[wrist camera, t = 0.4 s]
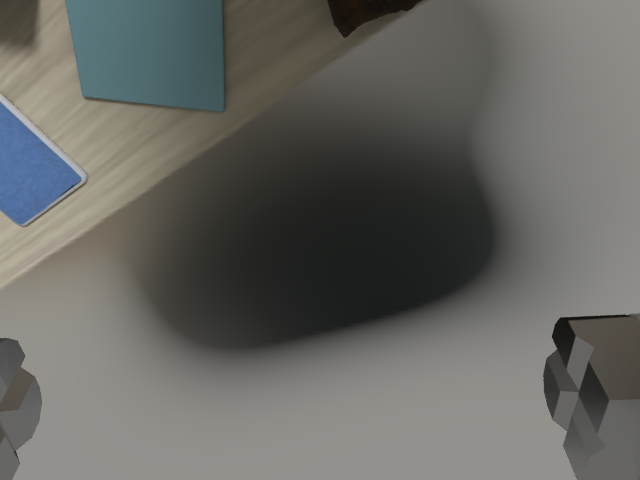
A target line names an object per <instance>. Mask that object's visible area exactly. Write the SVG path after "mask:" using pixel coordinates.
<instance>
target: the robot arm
mask: <svg viewBox="0 0 640 480" xmlns="http://www.w3.org/2000/svg"><path fill="white" fill-rule="evenodd" d="M552 338H553V341H554V343H555V345H556V348H557V350H556V351H555V352H553V353H552V354H551V355H550V356H549V357H548V358H547V359H546V364H545V369H544V374H543V377H544V393H545V398H546V402H547V406H548V409H549V411H550V414H551V416H552V419H553V421H555V422H556V423H557V424H559V425H560V426H561V427H562V428H564V429H565V430H566V431H567V434H566V438H565V441H564V445H563V447H564V449H565V451H566V454H567V456H568V459H569V461H570V464H571V466H572V468H573V471H574V473H575V476H576V478H577V480H640V314H629V315H605V316H583V317H562V318H559V320H558V321H557V322H556V324H555V327H554V330H553V334H552ZM24 358H25V354H24V352H23V351H22V349H21V347H20V345H19V343H18V341H16V340H13V339H9V338H0V480H12V479H13V477H14V474H15V472H16V470H17V468H18V466H19V464H20V462H19V459H18V456H17V453H16V450H17V449H18V448H20V447H21V446H22V445H23V444H24V443H25V442H27V441H28V440H29V439H31V438H32V436H33V434H34V432H35V429H36V427H37V425H38V422H39V419H40V412H41V405H42V399H41V392H40V387H39V385H38V383H37V380H36V378H35V377H34V376H33V375H32V374H30V373H29V372H27V371H26V370H24V369H23V368H21V367H20V366H21V364H22V362H23V360H24Z"/></svg>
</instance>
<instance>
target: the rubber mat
mask: <svg viewBox="0 0 640 480" xmlns="http://www.w3.org/2000/svg"><path fill="white" fill-rule="evenodd" d="M65 2H66V8H67V13H68V19H69V24H70V30H71V35H72V41H73V46H74V52H75V57H76V63H77V68H78V74H79V79H80V85H81V90H82V96H84V97H92V98H101V99H110V100H119V101H128V102H137V103H146V104H155V105H164V106H173V107H182V108H191V109H200V110H209V111H218V112H224V111H225V74H224V33H223V0H65Z"/></svg>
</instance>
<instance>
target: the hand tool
mask: <svg viewBox="0 0 640 480" xmlns="http://www.w3.org/2000/svg"><path fill="white" fill-rule="evenodd" d="M419 1H421V0H328V4H329V7H330V11H331V14H332V18H333V21H334V25H335V26H336V27H337V28H338V30H339V32H340V33H341V34H342V35H343V37H347V36H348V35H349V34H350V33H351V32H352V31H354V30H355V29H356V28H357V27H359V26H360V25H362V24H363V23H365V22H368V21H371V20H373V19H377V18H378V17H381V16H383V15H386V14H389V13H395V12H398V11H400V10H404V11H408V10H410V9H412V8H413V7H414V6H415V4H416V3H418V2H419Z"/></svg>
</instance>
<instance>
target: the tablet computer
mask: <svg viewBox="0 0 640 480" xmlns="http://www.w3.org/2000/svg"><path fill="white" fill-rule="evenodd" d="M87 179H88V175H87V173H86V172H85V171H84V170H83V169H82V168H81V167H80V166H79V165H78V164H76V163H75V162H74V161H73V160H72V159H71V158H70V157H69V156H67V155H66V154H65V153H64V152H63V151H62V150H61V149H60V148H59V147H58V146H56V145H55V144H54V143H53V142H52V141H51V140H50V139H49V138H48V137H47V136H46V135H45V134H44V133H42V132H41V131H40V130H39V129H38V128H37V127H36V126H35V125H34V124H33V123H32V122H31V121H30V120H28V119H27V118H26V117H25V116H24V115H23V114H22V113H21V112H20V111H19V110H18V109H17V108H16V107H15V106H14V105H13V104H11V103H10V102H9V101H8V100H7V99H6V98H5V97H4V96H3V95H2V94H1V93H0V211H1V212H2V213H4V214H5V215H6V216H7V217H8V218H10V219H11V220H12V221H13V222H14V223H16V224H17V225H19V226H26V225H27V224H29V223H30V222H32V221H33V220H34V219H36V218H37V217H38V216H40V215H41V214H42V213H44V212H45V211H47V210H48V209H49V208H51V207H52V206H53V205H55V204H56V203H57V202H59V201H60V200H62V199H63V198H64V197H66V196H67V195H68V194H70V193H71V192H73V191H74V190H75V189H77V188H78V187H79V186H81V185H82V184H83V183H85V182H86V181H87Z"/></svg>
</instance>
